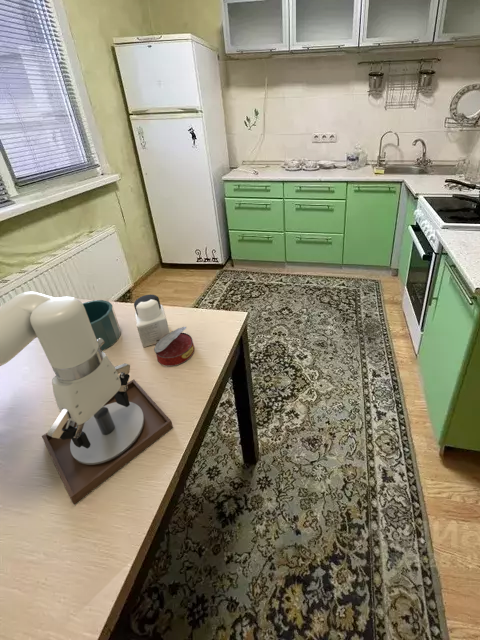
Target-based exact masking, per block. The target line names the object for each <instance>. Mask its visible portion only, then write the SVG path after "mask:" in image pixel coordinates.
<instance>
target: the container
mask: <svg viewBox="0 0 480 640" xmlns="http://www.w3.org/2000/svg"><path fill="white" fill-rule="evenodd" d="M133 307H134V310H135V311H134V317H135V325H136V328H137V332H138V335H139V339H140V342H141V346H142V347H143V348H146V347H149V346H152V345H156V344H157V342H158V341H159V340H160V339H162V338H163V337H164V336H166V335H167V334H169V333H170V332H171V330H170V328H169V323H168V319H167V315H166V312H165V308H164V305H163V304H161V302H160V298H159V296H157V295H155V294H145V295H142V296H140V297H138V298H137V299H136V300H135V301H134V303H133Z"/></svg>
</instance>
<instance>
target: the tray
mask: <svg viewBox="0 0 480 640" xmlns="http://www.w3.org/2000/svg"><path fill="white" fill-rule="evenodd" d="M126 386H128V389H127V390H126V392H127V395H128V400H129V402H132V403H135V404H136V405H138V406H139V407H140V408H141V410H142V412H143V415H144V425H143V428H142V431H141V433H140V435H139V436H138V438H137V439H136V441H135V442H134V443H133V444H132V445H131V446H130V447H129V448H128V449H127V450H126V451H124V452H123V453H122V454H120V455H119V456H117V457H115V458H114V459H112V460H109V461H107V462H104V463H100V464H95V465H87V464H82V463H80V462H78V461H77V460H75V459H74V457H73V456H72V453H71V450H70V443H71V438H70V439H66V440H63V439H58V438H53V437H51V436H49V435H47V433H48V432H46V433H44V434H43V435H41V438H42V440H43V443H44V444H45V446H46V449H47V451H48V453H49V455H50V458H51V460H52V461H53V464H54V466H55V468H56V471H57V472H58V475H59V476H60V479H61V481H62V483H63V486H64V488H65V490H66V492H67V494H68V496H69V497H70V500H71V502H72V504H73V505H76V504H77V503H78V502H80V501H81V500H82V499H84V498H85V497H86V496H88V494H89V493H91V492H92V491H94V490H95V489H96V488H97V487H99V486H100V485H101V484H102V483H104V482H105V481H106V480H108V479H109V478H110V477H112V475H114V474H115V473H117V472H118V471H120V470H121V469H122V468H123V467H124V466H126V465H127V464H128V463H129V462H130V461H132V460H133V459H135V458H136V457H137V456H138V455H140V454H141V453H142V452H144V451H145V450H146V449H147V448H148V447H150V446H152V444H154V443H155V442H156V441H157V440H159V439H160V438H161V437H163V436H164V435H165V434H167V433H168V432H169V431H171V429H173V428H174V426H173V423H172V420H171V419H170V418H169V416H167V414H166V413H165V412H164V411H163V410H162V409H161V408H160V406H158V404H157V403H156V402H155V401H154V400H153V399H152V398H151V396H150V395H149V394H148V393H147V392H146V391H145V389H143V387H141V385H140V384H139V383H138V382H137V380H136V379H132V380H130V381H128V383H127V385H126ZM114 402H116V400H115V397H114V396H113V397H112V398H111V399H110V400H109V401H108V402H107V403H106V404H105V405H108V404H111V403H114ZM105 405H104V406H105ZM68 420H69V419H68ZM68 420H67V422H66V423H65V425H64V426H63V428H62V429H66V426H67V423H68ZM76 425H77V423H75V424H74V427H75V428H76Z"/></svg>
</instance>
